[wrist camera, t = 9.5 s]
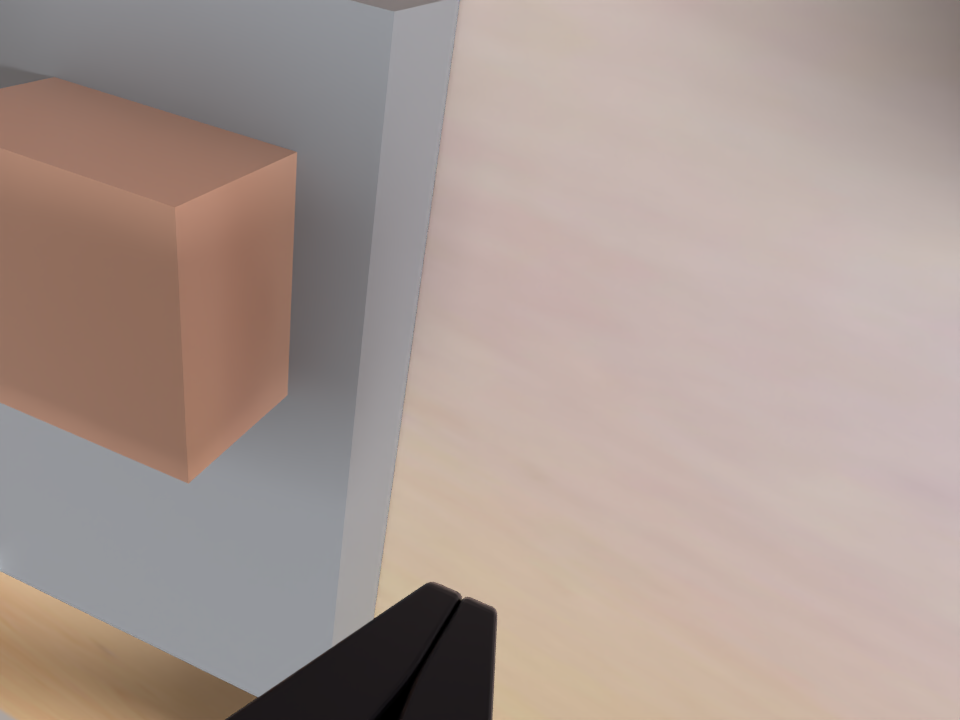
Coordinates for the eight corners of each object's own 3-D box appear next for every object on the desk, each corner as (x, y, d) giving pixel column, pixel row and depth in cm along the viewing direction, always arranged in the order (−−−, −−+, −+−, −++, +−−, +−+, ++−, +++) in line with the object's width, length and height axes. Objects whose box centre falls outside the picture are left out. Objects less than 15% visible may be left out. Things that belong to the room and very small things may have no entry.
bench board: (368, 657, 23) (323, 729, 21) (65, 518, 26) (-1, 570, 24) (460, -4, 13) (394, 11, 11) (-43, -128, 16) (-171, -133, 14)
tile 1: (287, 394, 16) (188, 483, 13) (84, 316, 17) (-42, 384, 14) (297, 152, 13) (175, 207, 11) (54, 77, 14) (-107, 111, 12)
